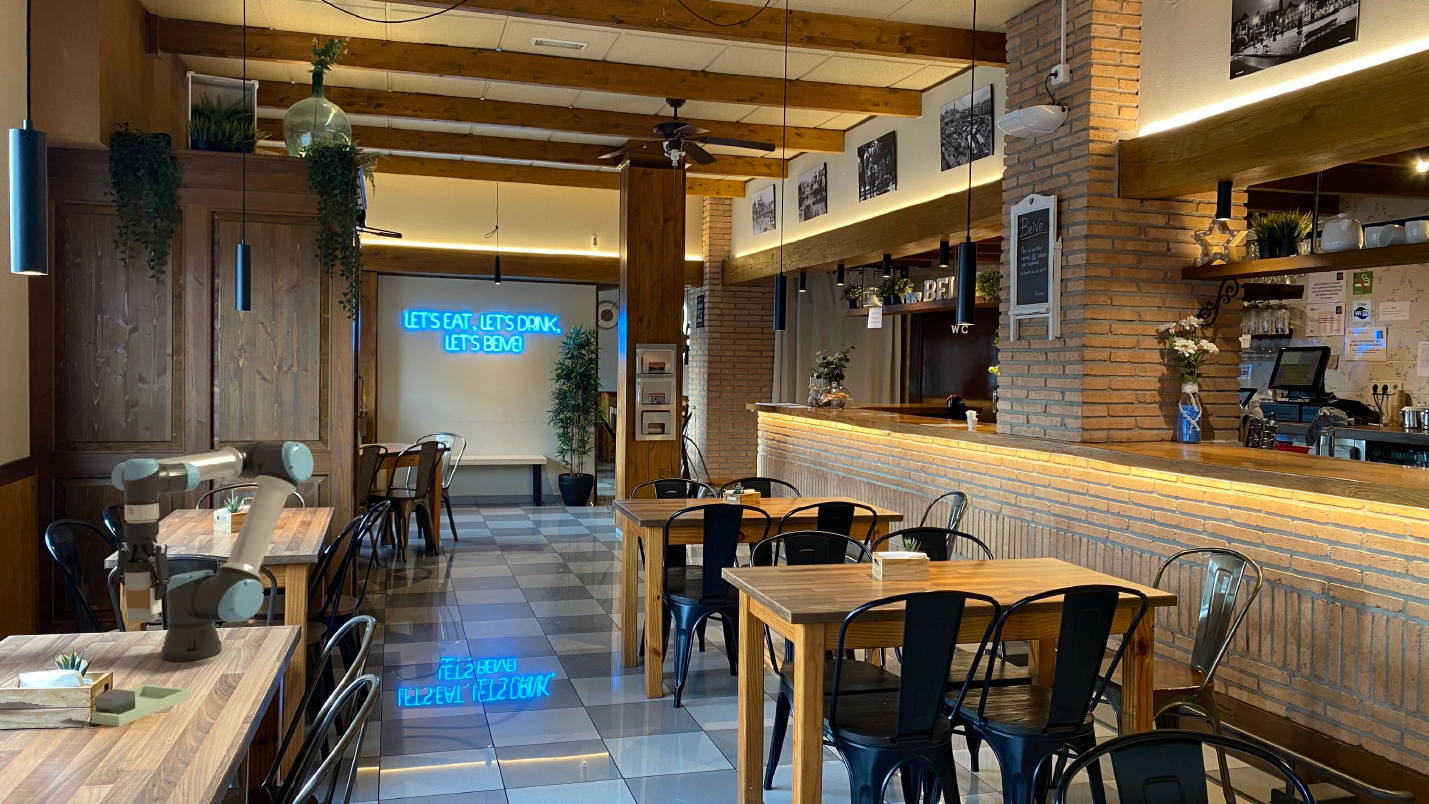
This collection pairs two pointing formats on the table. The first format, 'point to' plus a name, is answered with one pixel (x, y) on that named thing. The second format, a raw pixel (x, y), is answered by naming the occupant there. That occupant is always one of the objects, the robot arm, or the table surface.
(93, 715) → the green tray
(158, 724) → the table surface
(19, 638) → the table surface
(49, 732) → the table surface
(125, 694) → the cube
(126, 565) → the coffee cup
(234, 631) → the table surface
